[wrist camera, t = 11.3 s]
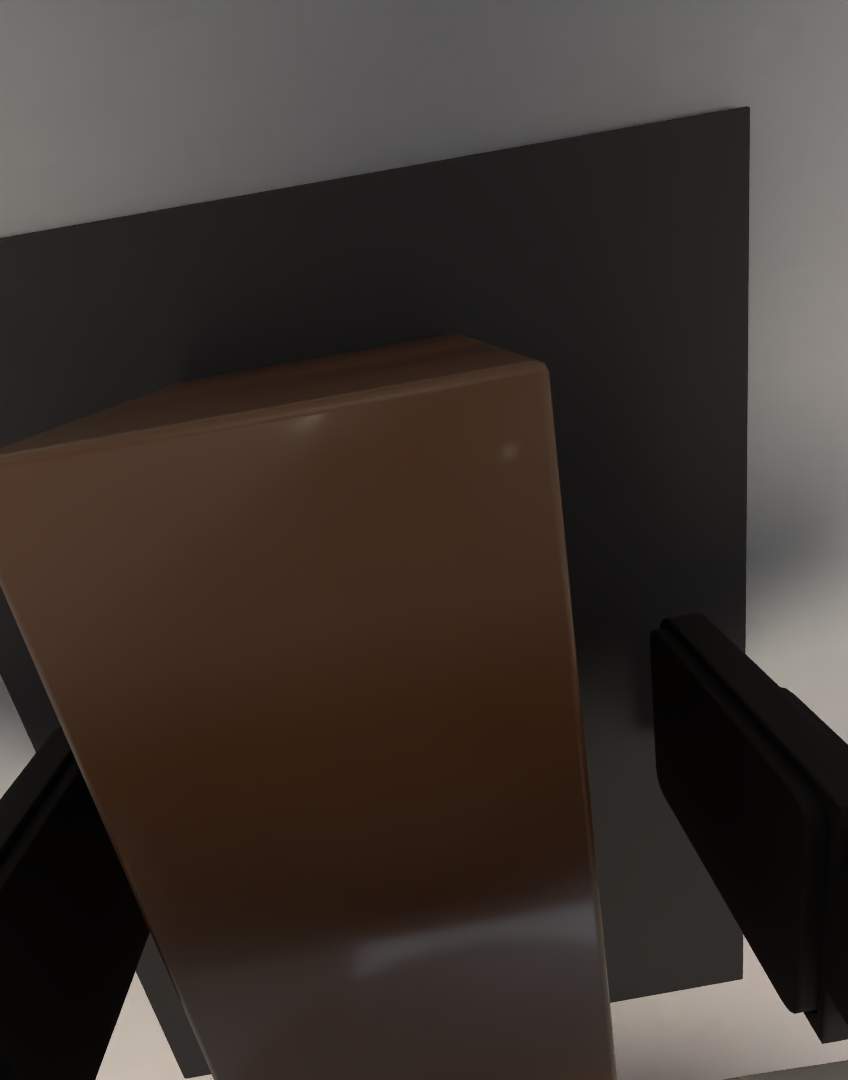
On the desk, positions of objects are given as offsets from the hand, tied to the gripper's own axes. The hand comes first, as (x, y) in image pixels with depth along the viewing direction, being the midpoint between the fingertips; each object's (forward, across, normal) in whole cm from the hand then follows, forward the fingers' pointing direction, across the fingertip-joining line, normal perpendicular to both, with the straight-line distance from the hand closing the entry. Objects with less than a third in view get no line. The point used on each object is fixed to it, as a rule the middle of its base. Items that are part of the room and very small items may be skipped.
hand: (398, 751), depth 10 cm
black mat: (+1, 0, 0) cm, 1 cm away
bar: (+1, 0, 0) cm, 1 cm away
